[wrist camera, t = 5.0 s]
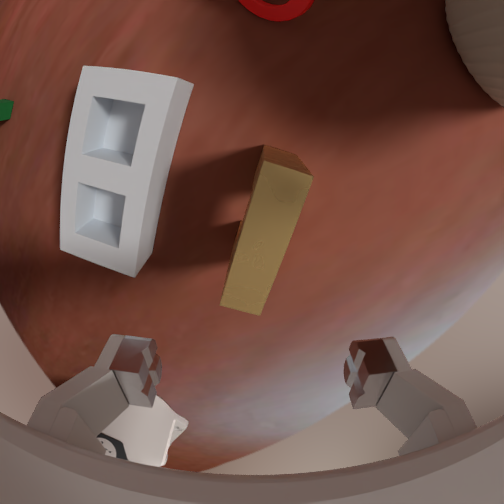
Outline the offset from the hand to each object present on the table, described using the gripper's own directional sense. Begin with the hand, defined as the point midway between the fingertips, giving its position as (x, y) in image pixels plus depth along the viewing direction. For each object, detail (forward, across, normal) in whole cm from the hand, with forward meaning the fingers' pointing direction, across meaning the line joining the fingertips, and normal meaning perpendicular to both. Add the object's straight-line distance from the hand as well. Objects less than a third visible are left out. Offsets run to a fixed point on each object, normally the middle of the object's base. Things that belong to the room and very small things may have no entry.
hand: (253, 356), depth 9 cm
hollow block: (+14, +10, -4) cm, 18 cm away
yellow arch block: (+14, -1, -1) cm, 14 cm away
